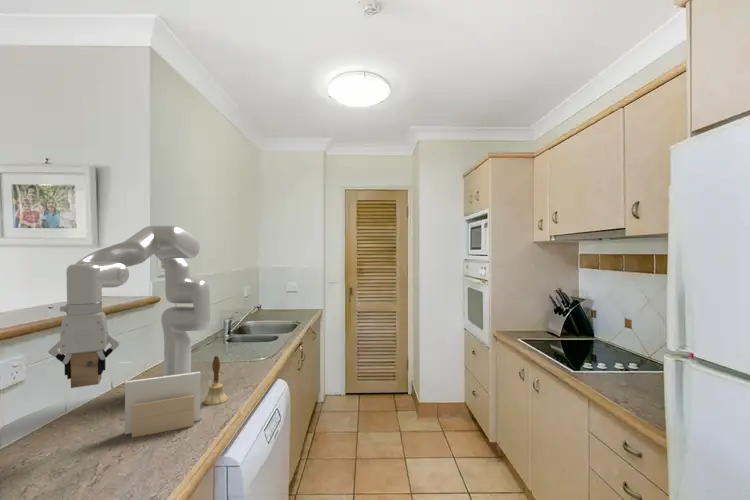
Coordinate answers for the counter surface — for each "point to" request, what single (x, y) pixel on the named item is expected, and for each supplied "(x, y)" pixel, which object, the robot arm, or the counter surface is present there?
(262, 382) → the counter surface
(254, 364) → the counter surface
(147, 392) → the wall board
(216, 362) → the hand bell
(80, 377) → the wall box
